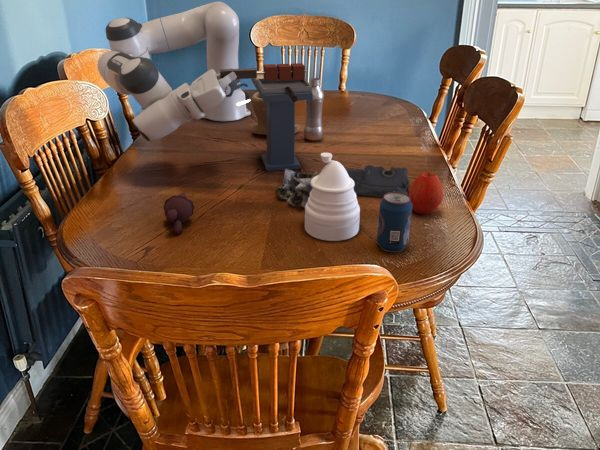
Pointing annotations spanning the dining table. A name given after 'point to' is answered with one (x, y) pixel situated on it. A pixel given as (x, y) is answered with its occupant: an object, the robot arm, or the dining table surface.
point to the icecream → (178, 210)
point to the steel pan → (284, 87)
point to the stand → (280, 130)
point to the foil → (296, 188)
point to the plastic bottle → (314, 112)
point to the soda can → (394, 221)
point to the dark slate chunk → (378, 181)
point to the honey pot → (332, 204)
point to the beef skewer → (270, 72)
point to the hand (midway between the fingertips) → (234, 72)
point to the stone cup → (262, 115)
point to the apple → (426, 193)
